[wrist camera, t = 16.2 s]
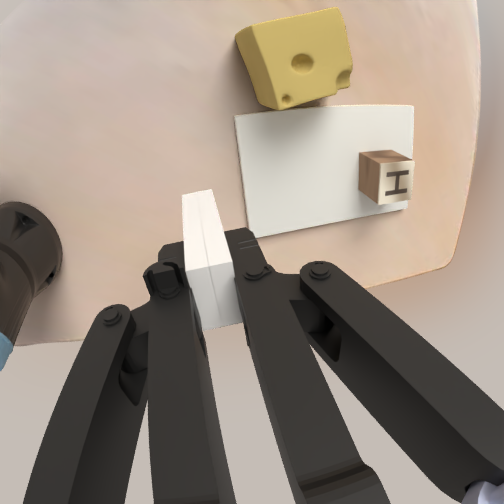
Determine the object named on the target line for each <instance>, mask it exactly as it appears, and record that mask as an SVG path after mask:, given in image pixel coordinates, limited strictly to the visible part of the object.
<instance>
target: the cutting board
mask: <svg viewBox="0 0 504 504" xmlns="http://www.w3.org/2000/svg"><path fill="white" fill-rule="evenodd" d="M234 122H235V129H236V137H237V145H238V152H239V160H240V168H241V175H242V183H243V191H244V198H245V206H246V214H247V221H248V229H249V230H250V231H252V232H253V233H254V236H255V238H259V237H264V236H268V235H273V234H278V233H283V232H288V231H293V230H298V229H303V228H308V227H313V226H318V225H324V224H329V223H334V222H339V221H344V220H349V219H354V218H359V217H365V216H370V215H375V214H380V213H385V212H391V211H396V210H401V209H407V206H408V200H405V201H399V202H394V203H388V204H382V205H378V204H377V203H375V202H374V201H373V200H371V199H370V198H369V197H367V196H366V195H365V194H364V193H362V192H361V191H360V190H358V181H359V152H368V151H380V150H393V151H395V152H397V153H399V154H401V155H404V156H406V157H408V158H410V159H412V151H413V130H414V106H411V105H338V106H319V107H305V108H293V109H284V110H273V111H264V112H256V113H249V114H241V115H234Z"/></svg>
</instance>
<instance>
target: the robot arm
mask: <svg viewBox="0 0 504 504" xmlns="http://www.w3.org/2000/svg"><path fill="white" fill-rule="evenodd" d="M182 213H183V237H184V241H181V242H176V243H172V244H167V245H164V246H163V247H162V248H161V250H160V251H159V253H158V262H156V263H154V264H153V265H151V266H149V267H148V268H147V269H146V270H145V272H144V274H143V278H144V281H145V283H146V286H147V289H148V291H149V294H150V301H148V302H147V303H146V304H144V305H142V306H141V307H138V308H136V309H134V310H132V311H130V310H129V308H128V307H127V306H125V305H122V304H116V305H111V306H109V307H106V308H104V309H103V310H102V311H101V312H99V314H98V315H97V316H96V318H95V320H94V322H93V324H92V326H91V328H90V330H89V332H88V334H87V336H86V338H85V340H84V342H83V344H82V346H81V348H80V350H79V353H78V355H77V357H76V359H75V361H74V363H73V366H72V368H71V370H70V372H69V375H68V377H67V379H66V382H65V384H64V386H63V389H62V391H61V393H60V396H59V398H58V401H57V403H56V406H55V408H54V411H53V413H52V416H51V418H50V421H49V424H48V426H47V429H46V432H45V434H44V437H43V440H42V443H41V446H40V449H39V452H38V455H37V458H36V461H35V464H34V467H33V470H32V473H31V477H30V480H29V483H28V487H27V490H26V494H25V498H24V501H23V504H124V503H125V498H126V492H127V487H128V482H129V477H130V473H131V468H132V463H133V459H134V454H135V450H136V445H137V441H138V437H139V432H140V428H141V424H142V420H143V415H144V411H145V407H146V403H147V400H148V426H149V448H150V464H151V475H152V488H153V498H154V504H237V503H236V500H235V495H234V491H233V486H232V482H231V477H230V473H229V468H228V464H227V459H226V454H225V450H224V444H223V439H222V435H221V429H220V424H219V419H218V413H217V408H216V402H215V397H214V392H213V385H212V379H211V374H210V367H209V361H208V355H207V348H206V342H205V338H204V335H203V332H202V329H203V331H205V330H209V329H214V328H219V327H224V326H228V325H233V324H238V323H242V322H243V324H244V329H245V334H246V340H247V345H248V346H249V348H250V352H251V355H252V359H253V362H254V366H255V370H256V373H257V377H258V380H259V384H260V387H261V391H262V394H263V397H264V401H265V404H266V408H267V411H268V415H269V418H270V422H271V425H272V428H273V432H274V435H275V438H276V442H277V445H278V448H279V451H280V455H281V458H282V461H283V464H284V468H285V471H286V474H287V478H288V481H289V484H290V487H291V490H292V493H293V496H294V500H295V502H296V504H391V503H390V501H389V499H388V497H387V494H386V492H385V490H384V488H383V485H382V483H381V481H380V479H379V477H378V476H377V474H376V473H375V471H374V470H373V469H372V468H371V467H369V466H367V465H366V464H365V463H364V462H363V461H362V459H361V457H360V455H359V453H358V451H357V449H356V446H355V444H354V442H353V440H352V437H351V435H350V433H349V431H348V428H347V426H346V424H345V422H344V419H343V417H342V415H341V413H340V411H339V408H338V406H337V404H336V402H335V399H334V398H333V395H332V393H331V391H330V389H329V386H328V384H327V382H326V380H325V377H324V375H323V373H322V371H321V369H320V366H319V364H318V362H317V360H316V358H315V355H314V353H313V351H312V349H311V347H310V345H311V346H312V347H313V348H314V350H315V351H316V352H317V353H318V354H319V355H320V356H321V358H322V359H323V360H324V361H325V362H326V363H327V365H328V366H329V367H330V368H331V369H332V370H333V372H334V373H336V375H337V376H338V377H339V378H340V380H341V381H342V382H343V383H344V384H345V385H346V386H347V388H348V389H349V390H350V391H351V392H352V393H353V394H354V396H355V397H356V398H357V399H358V400H359V401H360V402H361V403H362V405H363V406H364V407H365V408H366V409H367V410H368V411H369V412H370V414H371V415H372V416H373V417H374V418H375V419H376V421H378V423H379V424H380V425H381V426H382V427H383V428H384V429H385V431H386V432H387V433H388V434H389V435H390V436H391V437H392V438H393V439H394V441H395V442H396V443H397V444H398V445H399V446H400V447H401V449H402V450H403V451H404V452H405V453H406V454H407V455H408V456H409V457H410V459H411V460H412V461H413V462H414V463H415V464H416V465H417V466H418V467H419V468H420V470H421V471H422V472H423V473H424V474H425V475H426V476H427V477H428V478H429V479H430V480H431V481H432V482H433V483H434V484H435V485H436V486H437V487H438V488H439V489H440V490H441V491H442V492H444V493H445V494H447V495H448V496H449V497H451V498H452V499H454V500H456V501H458V502H460V503H461V504H504V410H503V409H502V408H500V407H499V406H498V405H497V404H496V403H495V402H494V401H493V400H492V399H491V398H490V397H489V396H488V395H487V394H485V393H484V392H483V391H482V390H481V389H480V388H479V387H478V386H477V385H476V384H474V383H473V382H472V381H471V380H470V379H469V378H468V377H467V376H466V375H465V374H464V373H462V372H461V371H460V370H459V369H458V368H457V367H456V366H454V364H452V363H451V362H450V361H449V360H448V359H447V358H446V357H444V356H443V355H442V354H441V353H440V352H439V351H438V350H437V349H435V348H434V347H433V346H432V345H431V344H430V343H428V342H427V341H426V340H425V339H424V338H423V337H422V336H420V335H419V334H418V333H417V332H416V331H414V330H413V329H412V328H411V327H410V326H409V325H407V324H406V323H405V322H404V321H403V320H402V319H400V318H399V317H398V316H397V315H396V314H394V313H393V312H392V311H391V310H389V309H388V308H387V307H386V306H385V305H384V304H382V303H381V302H380V301H379V300H378V299H376V298H375V297H373V295H372V294H370V293H369V292H368V291H367V290H365V289H364V288H363V287H362V286H361V285H359V284H358V283H357V282H356V281H354V280H353V279H352V278H351V277H349V276H348V275H347V274H346V273H344V272H343V271H342V270H341V269H339V268H338V267H337V266H335V265H334V264H332V263H330V262H325V261H314V262H310V263H308V264H306V265H304V266H303V267H302V268H301V270H300V274H283V273H278V272H276V271H275V269H274V268H273V267H272V266H271V265H269V264H267V262H266V260H265V257H264V255H263V253H262V251H261V249H260V246H259V245H258V242H257V240H256V238H255V236H254V233H253V232H252V231H250V230H249V229H247V228H246V227H245V228H240V229H235V230H230V231H225V232H224V231H223V227H222V224H221V220H220V217H219V213H218V210H217V206H216V203H215V199H214V196H213V192H212V189H209V190H204V191H199V192H194V193H189V194H185V195H182ZM61 261H62V247H61V243H60V239H59V236H58V234H57V232H56V230H55V228H54V226H53V225H52V223H51V222H50V221H49V220H48V219H47V217H46V216H45V215H44V214H42V213H41V212H40V211H39V210H37V209H36V208H34V207H32V206H30V205H28V204H25V203H21V202H8V203H5V204H2V205H0V371H1V370H2V369H3V367H4V365H5V363H6V361H7V359H8V357H9V354H11V352H12V351H13V346H14V344H15V341H16V338H17V336H18V333H19V330H20V328H21V325H22V323H23V320H24V318H25V315H26V313H27V310H28V308H29V306H30V303H31V301H32V299H33V298H34V297H35V296H37V295H38V294H39V293H40V292H41V291H43V290H44V289H45V288H46V287H48V286H49V285H50V284H51V282H52V281H53V280H54V278H55V276H56V274H57V272H58V270H59V268H60V265H61Z"/></svg>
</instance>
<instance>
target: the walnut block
mask: <svg viewBox="0 0 504 504" xmlns="http://www.w3.org/2000/svg"><path fill="white" fill-rule="evenodd" d="M414 164H415V161H414V160H412V159H410V158H408V157H406V156H404V155H401V154H399V153H397V152H395V151H393V150H380V151H368V152H359V181H358V190H360V191H361V192H362V193H364V194H365V195H366V196H367V197H369V198H370V199H371V200H373V201H374V202H375V203H377V204H378V205H382V204H388V203H394V202H399V201H405V200H411V195H412V186H413V176H414Z"/></svg>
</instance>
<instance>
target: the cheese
mask: <svg viewBox="0 0 504 504" xmlns="http://www.w3.org/2000/svg"><path fill="white" fill-rule="evenodd" d="M235 39H236V42H237V45H238V48H239V50H240V53H241V56H242V58H243V60H244V63H245V65H246V68H247V70H248V73H249V75H250V78H251V81H252V84H253V87H254V91H255V94H256V97H257V100H258V102H259V103H260V104H262V105H263V106H266V107H269V108H272V109H275V110H284V109H287V108H290V107H293V106H296V105H299V104H302V103H306V102H309V101H312V100H316V99H319V98H323V97H327V96H332V95H335V94H336V93H337V90H339V89H345V88H348V87H349V86H350V79H349V78H350V74H351V72H352V66H353V64H352V57H351V53H350V47H349V43H348V38H347V33H346V28H345V24H344V21H343V18H342V15H341V13H340V10H339V8H338V7H332V8H327V9H323V10H320V11H316V12H311V13H306V14H301V15H296V16H291V17H286V18H281V19H276V20H271V21H267V22H262V23H258V24H254V25H251V26H248V27H246V28H244V29H242V30H241V31H239V32H238V33H237V34H236V35H235Z"/></svg>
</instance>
